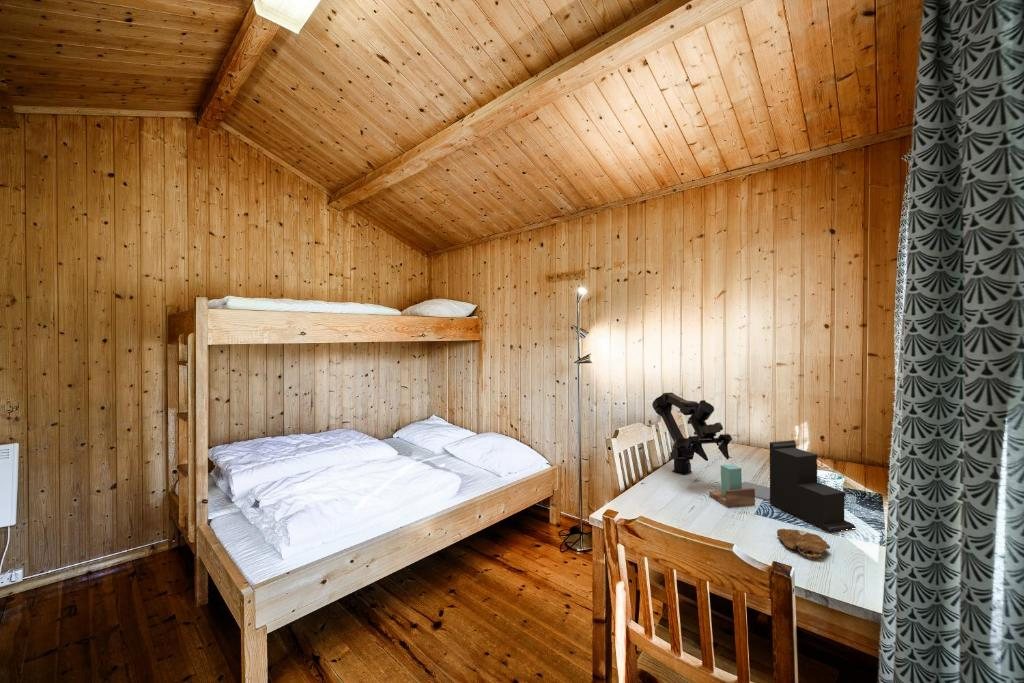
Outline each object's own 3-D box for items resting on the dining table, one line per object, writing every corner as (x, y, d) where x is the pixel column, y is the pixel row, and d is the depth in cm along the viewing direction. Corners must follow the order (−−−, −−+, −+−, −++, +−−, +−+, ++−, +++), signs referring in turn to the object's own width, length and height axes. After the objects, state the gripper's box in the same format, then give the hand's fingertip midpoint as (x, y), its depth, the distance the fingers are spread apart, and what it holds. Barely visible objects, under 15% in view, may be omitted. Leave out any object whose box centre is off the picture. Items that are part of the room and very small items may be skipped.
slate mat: (729, 490, 167) (729, 489, 167) (744, 482, 176) (744, 481, 176) (768, 500, 156) (767, 499, 156) (781, 491, 165) (781, 490, 165)
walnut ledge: (709, 496, 162) (709, 481, 162) (734, 494, 163) (734, 479, 163) (728, 507, 151) (727, 491, 151) (755, 505, 153) (754, 489, 153)
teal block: (721, 493, 159) (720, 465, 159) (732, 492, 160) (732, 464, 160) (729, 498, 154) (729, 469, 154) (741, 497, 155) (741, 468, 155)
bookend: (856, 529, 132) (855, 456, 132) (829, 533, 130) (828, 459, 130) (793, 501, 155) (792, 439, 155) (769, 504, 153) (767, 441, 153)
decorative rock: (843, 564, 114) (809, 540, 129) (843, 549, 114) (809, 526, 129) (799, 561, 115) (770, 537, 130) (800, 546, 115) (771, 524, 130)
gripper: (687, 417, 169) (705, 450, 158) (728, 414, 172) (748, 447, 161) (677, 432, 177) (693, 465, 166) (717, 429, 180) (735, 462, 169)
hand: (717, 459), depth 165 cm, fingers open, 9 cm apart
